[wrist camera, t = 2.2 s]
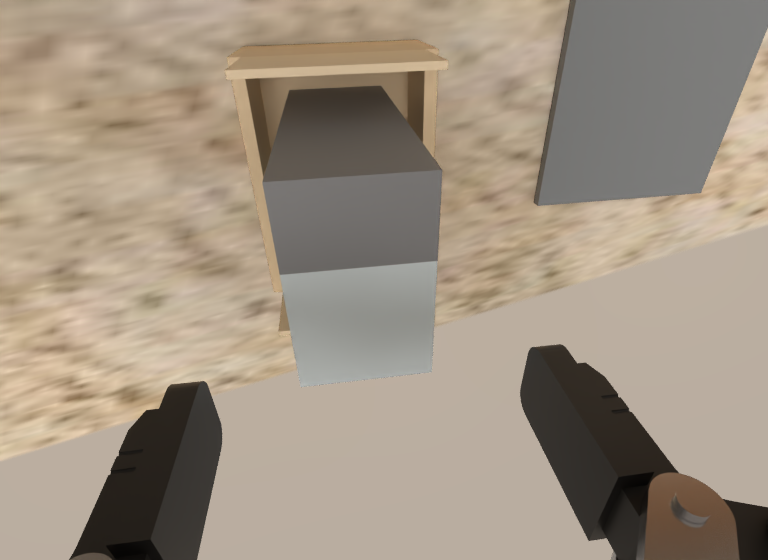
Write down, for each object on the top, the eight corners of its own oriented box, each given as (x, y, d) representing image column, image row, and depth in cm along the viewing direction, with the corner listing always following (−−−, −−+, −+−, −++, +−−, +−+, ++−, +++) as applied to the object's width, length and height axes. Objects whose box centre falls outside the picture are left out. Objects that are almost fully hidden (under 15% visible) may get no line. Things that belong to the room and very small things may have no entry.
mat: (571, -7, 23) (577, -7, 23) (774, -13, 24) (784, -13, 24) (534, 202, 30) (537, 205, 29) (694, 189, 31) (700, 193, 30)
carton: (243, 46, 22) (206, 70, 15) (416, 39, 23) (464, 60, 16) (279, 250, 29) (267, 337, 22) (413, 239, 30) (445, 319, 23)
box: (289, 89, 23) (262, 182, 12) (380, 85, 24) (442, 169, 12) (307, 223, 28) (300, 387, 16) (384, 217, 28) (431, 372, 17)
